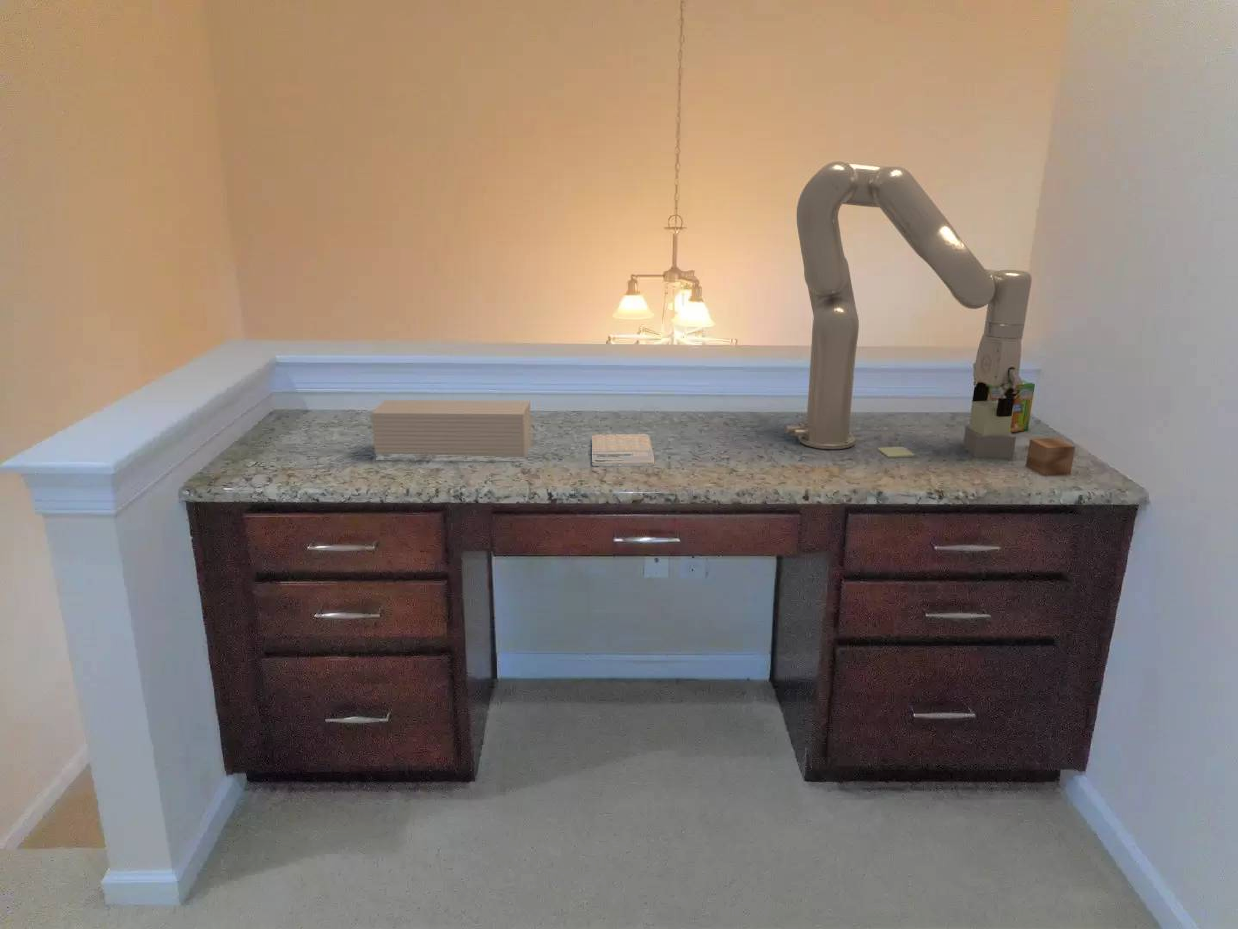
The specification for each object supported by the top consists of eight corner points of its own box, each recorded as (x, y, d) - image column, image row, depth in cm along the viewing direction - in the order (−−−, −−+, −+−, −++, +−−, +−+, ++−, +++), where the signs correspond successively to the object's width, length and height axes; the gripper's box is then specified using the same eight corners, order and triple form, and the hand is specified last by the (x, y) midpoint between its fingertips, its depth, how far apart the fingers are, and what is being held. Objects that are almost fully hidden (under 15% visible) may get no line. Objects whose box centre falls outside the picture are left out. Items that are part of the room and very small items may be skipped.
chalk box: (1002, 435, 200) (1011, 373, 195) (970, 426, 208) (979, 365, 203) (1029, 430, 204) (1039, 369, 199) (997, 421, 212) (1006, 361, 207)
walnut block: (1042, 476, 174) (1047, 447, 172) (1025, 466, 179) (1030, 439, 177) (1070, 474, 174) (1075, 446, 172) (1052, 465, 180) (1057, 437, 178)
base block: (974, 458, 185) (977, 436, 183) (962, 447, 192) (965, 425, 191) (1012, 459, 184) (1016, 436, 183) (999, 447, 192) (1002, 426, 190)
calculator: (649, 440, 199) (649, 432, 198) (655, 468, 180) (655, 460, 179) (591, 441, 198) (591, 433, 198) (591, 469, 180) (591, 460, 179)
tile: (888, 457, 185) (888, 456, 184) (876, 449, 190) (877, 447, 190) (914, 456, 185) (915, 455, 185) (902, 448, 191) (902, 446, 191)
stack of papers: (375, 461, 184) (371, 412, 180) (390, 446, 194) (385, 400, 190) (525, 463, 183) (523, 414, 179) (531, 447, 193) (530, 401, 189)
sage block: (983, 435, 183) (987, 408, 182) (968, 428, 189) (972, 401, 187) (1009, 434, 184) (1013, 407, 182) (994, 426, 190) (998, 400, 188)
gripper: (965, 324, 187) (954, 400, 193) (1009, 338, 171) (996, 421, 177) (997, 323, 188) (986, 399, 194) (1044, 338, 172) (1030, 420, 178)
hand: (991, 410), depth 185 cm, fingers open, 9 cm apart
